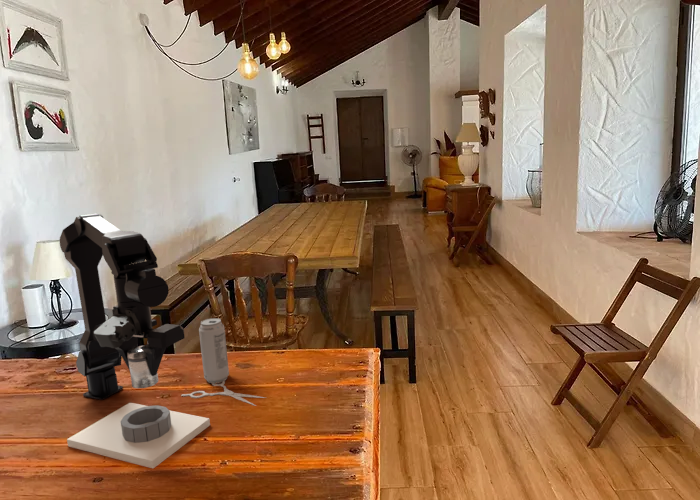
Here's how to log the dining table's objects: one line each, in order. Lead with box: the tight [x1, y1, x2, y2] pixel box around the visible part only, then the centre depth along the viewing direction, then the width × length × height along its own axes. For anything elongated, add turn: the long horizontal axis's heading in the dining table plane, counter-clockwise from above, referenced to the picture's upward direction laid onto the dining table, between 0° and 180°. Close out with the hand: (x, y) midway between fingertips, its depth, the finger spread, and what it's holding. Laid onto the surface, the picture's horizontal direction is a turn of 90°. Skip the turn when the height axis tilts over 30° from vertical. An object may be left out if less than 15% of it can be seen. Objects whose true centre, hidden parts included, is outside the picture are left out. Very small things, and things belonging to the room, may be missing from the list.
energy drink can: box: [198, 317, 230, 384], centre depth 131 cm, size 6×6×15 cm
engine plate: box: [66, 402, 211, 469], centre depth 107 cm, size 22×16×4 cm
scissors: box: [180, 380, 266, 407], centre depth 124 cm, size 11×1×20 cm
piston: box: [127, 345, 159, 389], centre depth 107 cm, size 5×5×7 cm
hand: (143, 373), depth 107 cm, fingers closed on piston, 5 cm apart
